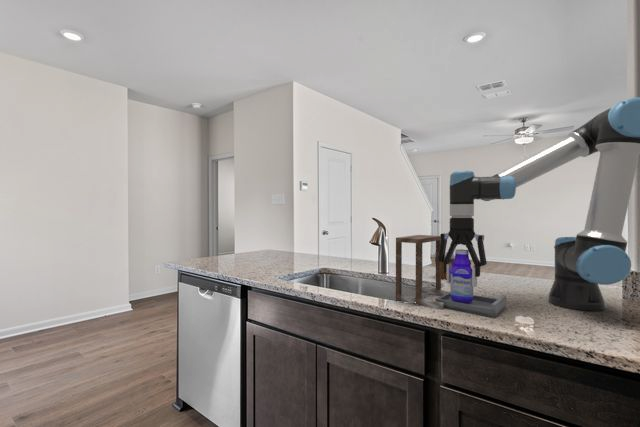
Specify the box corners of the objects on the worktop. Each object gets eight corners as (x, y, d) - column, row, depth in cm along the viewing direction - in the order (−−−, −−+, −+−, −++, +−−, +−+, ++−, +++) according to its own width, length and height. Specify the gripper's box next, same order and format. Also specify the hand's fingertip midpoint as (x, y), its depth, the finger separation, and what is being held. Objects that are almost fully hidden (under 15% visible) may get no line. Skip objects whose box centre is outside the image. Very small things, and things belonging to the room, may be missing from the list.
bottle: (449, 302, 108) (450, 250, 108) (449, 297, 114) (450, 248, 113) (473, 304, 106) (474, 251, 105) (472, 300, 111) (473, 249, 111)
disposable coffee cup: (456, 280, 149) (457, 254, 149) (435, 280, 151) (435, 254, 151) (452, 276, 158) (452, 252, 158) (432, 276, 160) (432, 251, 160)
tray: (506, 307, 107) (506, 295, 107) (495, 318, 96) (495, 304, 96) (450, 298, 119) (450, 287, 119) (435, 306, 108) (435, 294, 108)
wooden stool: (461, 298, 119) (461, 237, 119) (441, 309, 105) (442, 240, 104) (418, 290, 130) (418, 234, 130) (395, 300, 115) (395, 237, 115)
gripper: (498, 217, 106) (497, 287, 106) (436, 216, 119) (435, 278, 119) (492, 217, 100) (491, 291, 100) (427, 216, 113) (427, 281, 114)
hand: (461, 284), depth 110 cm, fingers open, 8 cm apart
